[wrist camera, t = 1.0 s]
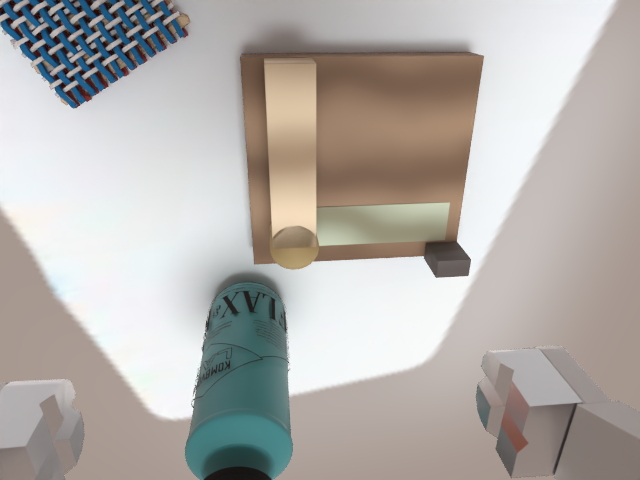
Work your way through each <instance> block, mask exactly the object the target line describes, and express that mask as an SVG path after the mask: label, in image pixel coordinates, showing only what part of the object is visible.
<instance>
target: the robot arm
mask: <svg viewBox="0 0 640 480" xmlns="http://www.w3.org/2000/svg"><path fill="white" fill-rule="evenodd" d="M481 367H482V369H483V371H484V372H485V374H486V376H485V377H484V378H483V379H482V380H481V381H480V382H479V383H478V387H477V394H476V401H477V409H478V413H479V416H480V419H481V422H482V423H483V426H484V428H485V430H486V431H487V432H489V433H490V434H492V435H493V436H495V437H496V438H497V439H498V440H497V445H496V451H497V453H498V454H499V456H500V458H501V460H502V462H503V464H504V466H505V468H506V469H507V471H508V473H509V475H510V477H511V478H518V477H519V478H520V477H536V476H549V475H555V476H554V478H555V479H556V480H640V411H638V410H636V409H634V408H632V407H630V406H628V405H626V404H624V403H622V402H620V401H611V400H610V399H609V398H608V397H607V396H606V395H605V394H604V392H603V391H602V390H601V389H600V388H599V387H598V386H597V385H596V383H595V382H594V381H593V380H592V379H591V378H590V377H589V376H588V375H587V373H586V372H585V371H584V370H583V369H582V368H581V367H580V366H579V365H578V363H577V362H576V361H575V360H574V359H573V358H572V357H571V355H570V354H569V353H568V352H567V351H566V350H565V349H564V348H562V347H560V346H559V345H553V346H542V347H534V348H524V349H510V350H496V351H487V352H486V354H485V355H484V357H483V361H482V365H481ZM75 396H76V394H75V391H74V388H73V385H72V382H70V381H69V380H66V379H59V380H37V381H13V382H2V383H0V480H65V476H64V475H65V474H66V473H67V472H68V471H70V470H71V469H72V468H73V467H74V466H75V465H76V464H77V462H78V459H79V457H80V454H81V451H82V447H83V440H84V423H83V419H82V415H81V412H79V411H78V410H77V409H75V408H74V407H73V406H71V404H72V402H73V400H74V398H75Z"/></svg>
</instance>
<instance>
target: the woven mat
mask: <svg viewBox="0 0 640 480" xmlns="http://www.w3.org/2000/svg"><path fill="white" fill-rule="evenodd" d="M14 1H15V2H16V3H13V2H12V0H0V26H1V27H2V28H3V29H4V30H3V31H2V32H3V33H4V34H5V35H6V34H9V35H10V36H12V37H13V38H14V39H12V40H10V41H11V44H14V45H13V47H14V49H15V50H16V49H17V48H18V47H19V46H20V48H21V50H22V52H23V53H22V54H21V55H22V56H23V57H24V58H25V57H28V58H29V59H31V60H32V61H33V62H32V63H31V66H32V68H33V67H34V68H35V70H36V72H37V73H40V74H41V75H42V76H43V78H42V79H43V80H44V81H46V80H48V81H49V84H50V86H49V87H50V89H51V90H52V89H53V88H55V91H56V94H55V95H56V96H57V97H59V96H60V98H61V102H63V103H64V104H65V105H68V104H69V105H70V106H71V107H72V108H77V107H78V106H80V104H79V103H78V101H79V102H80V103H81V104H82V103H84V102H85V101H87V102H88V101H89V100H91V98H90V97H89V96H88V94H87V93H86V92H89V94H90V95H91V96H94V95H96V94H98V93H99V91H98V90H97V88H98V89H99V90H100V91H102V90H103V89H105V88H107V87H108V85H107V83H106V82H105V81H104V80H106V79H108V80H109V81H110V83H114V82H115V81H117V80H118V79H117V77H116V76H115V75H114V74H115V73H116V74H117V75H118V77H119V78H121V77H123V76H127V75H128V72H127V70H126V68H125V66H128V68H129V69H130V70H134V69H135V68H137V66H136V65H135V63H134V62H133V61H134V60H136V61H137V62H138V64H139V65H141V64H143V63H145V62H146V61H147V59H146V58H145V56H144V55H143V54H145V53H146V52H147V53H148V55H149V56H150V57H153V56H154V55H156V52H155V51H154V49H153V48H154V47H155V46H156V47H157V49H158V50H159V52H160V51H163V50H165V49H166V46H165V44H164V43H163V41H164V40H166V39H167V40H168V41H169V42H170V43H171V44H173V43H175V42H176V41H177V40H176V39H175V37H174V36H173V34H175V33H176V32H177V33H178V35H179V37H180V38H181V37H184V38H185V37H186V36H188V34H187V32H186V30H185V29H184V26H186V25H187V24H189V23H190V21H189V19H188V16H186V15H184V14H181V15H180V14H179V12H178V11H177V12H175V13H174V12H173V11H172V10H171V8H173V7H174V5H173V3H172V2H171V0H154V1H153V2H152V3H151V2H150V1H152V0H122V1H119V0H93V1H92V2H90V1H89V0H78V1H77V0H45V1H43V0H14ZM76 1H77V2H76ZM110 3H111V4H112V5H113V6H112V7H111V8H110V7H109V6H108V4H110ZM157 4H158V5H157ZM47 5H49V6H47ZM156 5H157V6H156ZM2 6H3V8H4V10H3V9H2V8H1V7H2ZM32 6H35V7H34V8H33V7H32ZM79 6H82V9H80V8H79ZM142 6H143V7H144V8H143V9H141V7H142ZM154 6H155V7H154ZM38 10H39V13H37V11H38ZM100 10H101V12H102V14H100V13H99V12H98V11H100ZM70 12H71V13H72V14H70ZM132 13H134V14H135V15H133V16H132V17H131V16H130V15H131V14H132ZM163 14H165V15H166V17H167V18H166V19H165V20H164V21H163V19H162V18H161V16H162V15H163ZM88 18H91V19H92V21H91V22H89V21H88ZM59 19H60V20H61V22H59V21H58V20H59ZM12 20H14V22H13V21H12ZM121 21H123V22H124V23H123V24H121V23H120V22H121ZM152 22H155V24H156V26H155V27H154V26H153V25H152ZM169 22H170V23H169ZM168 23H169V24H168ZM79 24H80V25H79ZM166 24H168V25H166ZM48 26H50V27H51V28H52V30H50V29H49V27H48ZM81 27H82V28H81ZM112 27H114V28H115V29H114V30H113V29H112ZM143 29H144V30H145V31H146V33H145V34H142V32H141V30H143ZM159 29H160V30H159ZM157 30H159V31H158V32H156V31H157ZM39 32H41V35H42V37H41V35H40V33H39ZM68 32H71V33H72V35H71V36H70V35H69V34H68ZM100 35H103V37H101V36H100ZM132 36H134V38H135V39H136V40H134V41H133V40H132V38H131V37H132ZM148 36H150V37H149V38H148V39H146V38H147V37H148ZM58 39H60V41H61V43H60V41H59V40H58ZM28 40H30V41H31V42H32V43H33V44H31V43H30V42H29V41H28ZM92 40H93V41H94V43H92V44H91V43H90V42H91V41H92ZM104 41H105V42H104ZM122 43H124V44H125V45H126V46H125V47H124V48H123V46H122V45H121V44H122ZM138 43H139V45H137V44H138ZM49 45H50V46H51V47H52V48H51V49H50V48H49V47H48V46H49ZM96 46H97V47H96ZM95 47H96V48H95ZM129 49H130V51H128V50H129ZM112 50H114V52H115V53H114V52H112ZM126 51H128V52H126ZM39 52H40V53H39ZM72 55H74V56H73V57H71V56H72ZM102 57H104V58H106V60H103V59H102ZM76 59H77V61H76V62H75V60H76ZM108 63H109V64H108ZM107 64H108V65H107ZM95 66H96V67H95ZM66 67H67V68H66ZM82 70H84V71H85V72H87V73H84V72H83V71H82ZM98 70H99V72H98ZM72 76H74V77H75V79H76V80H75V79H74V78H73V77H72ZM89 76H90V78H88V77H89ZM64 83H65V84H66V85H67V86H65V84H64ZM95 86H96V87H97V88H96V87H95ZM70 89H71V90H70ZM69 90H70V91H69ZM76 99H77V100H78V101H77V100H76Z"/></svg>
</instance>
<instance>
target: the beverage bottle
mask: <svg viewBox="0 0 640 480" xmlns="http://www.w3.org/2000/svg"><path fill="white" fill-rule="evenodd" d="M280 299H281V298H280V297H279V296H278V295H277V294H276V293H275V292H274V291H273V290H272V289H270V288H269V287H267V286H264V285H262V284H259V283H253V282H244V283H238V284H234V285H232V286H230V287H228V288H226V289H225V290H223V291H222V292H221V293H220V294H219V295H217V298H216V299H215V300H214V302H213V301H212V302H213V303H212V307H211V309H210V311H208V312H209V318H208V322H207V321H206V327H207V329H205V331H206V332H207V333H204V334H205V336H204V337H203V339H205V337H206V339H205V340H204V342H205V343H204V342H203V343H204V344H203V345H202V346H203V347H202V348H203V349H202V351H203V356H202V361H201V362H200V363H201V367H200V370H199V371H200V373H199V372H198V373H199V375H198V374H197V377H199V378H198V382H197V381H196V382H197V383H196V384H197V386H196V385H195V386H196V387H197V388H196V387H195V390H196V395H195V399H193V400H195V401H194V407H193V406H192V407H193V408H194V410H193V415H192V421H191V426H190V433H189V437H188V439H187V442H186V447H185V458H186V461H187V464H188V466H189V468H190V470H191V471H192V472H193V474H194V475H195V476H196V477H197V478H199V479H200V480H273V479H275V478H276V477H277V476H278V475H279V474H281V473H282V471H283V470H284V469H285V468H286V467H287V465H288V463H289V462H290V459H291V456H292V451H293V443H292V438H291V429H290V411H289V392H288V371H289V370H288V363H289V362H288V361H287V359H288V358H290V357H289V356H288V355H289V353H288V352H287V346H288V345H287V344H288V343H286V340H288V339H286V338H287V336H286V334H287V333H288V332H286V330H287V329H286V326H287V324H286V322H287V321H286V317H285V314H286V313H285V310H286V309H285V310H284V305H283V303H282V302H281V300H280ZM285 308H286V307H285ZM286 312H287V311H286ZM207 317H208V315H207ZM288 349H289V347H288ZM287 353H288V355H287ZM287 356H288V357H287ZM288 360H289V359H288ZM289 369H290V368H289ZM193 395H194V393H193ZM192 402H193V401H192ZM191 405H192V403H191Z"/></svg>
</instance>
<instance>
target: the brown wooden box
mask: <svg viewBox="0 0 640 480" xmlns="http://www.w3.org/2000/svg"><path fill="white" fill-rule="evenodd" d="M264 58H312V59H313V60H314V61H315V63H316V233H317V237H318V242H319V252H318V255H317V257H316V258H315V260H314V261H332V260H353V259H373V258H394V257H414V256H424V259H425V261H426V262H427V264H428V266H429V267H430V269H431V270H432V272H433V274H434V275H435V277H436V278H438V277H457V276H468V275H469V269H470V263H471V259H470V258H469V256H468V255H467V254H466V253H465V251H464V250H463V249H462V248H461V246H460V245H459V244H458V243H457V234H458V227H459V221H460V214H461V207H462V200H463V194H464V187H465V180H466V173H467V167H468V160H469V153H470V146H471V140H472V133H473V126H474V119H475V113H476V106H477V99H478V92H479V85H480V79H481V72H482V65H483V58H484V56H482V55H478V54H475V53H471V52H420V53H285V54H242V55H241V57H240V61H241V76H242V90H243V105H244V120H245V135H246V150H247V164H248V179H249V194H250V209H251V224H252V238H253V253H254V264H271V263H276V262H275V261H274V259H273V258H272V256H271V253H270V232H269V228H270V223H271V221H272V220H271V198H270V177H269V155H268V134H267V112H266V91H265V69H264Z"/></svg>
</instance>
